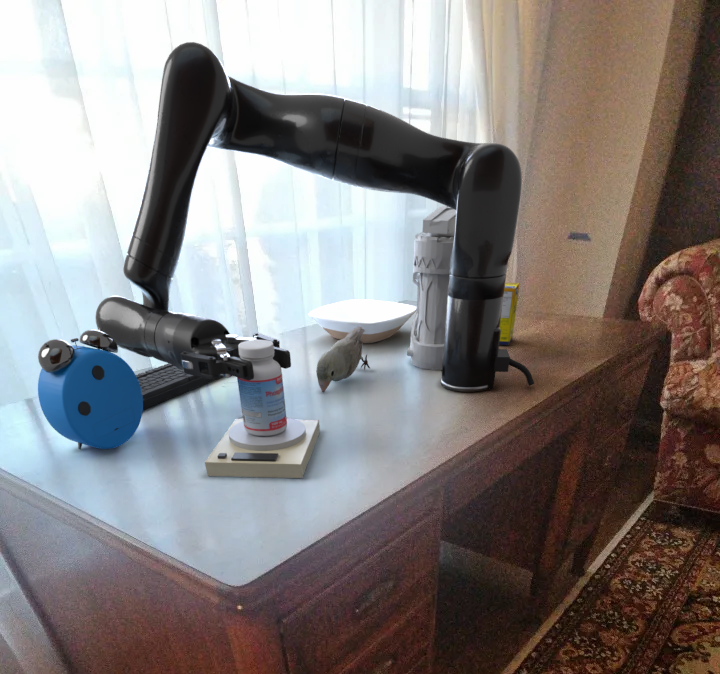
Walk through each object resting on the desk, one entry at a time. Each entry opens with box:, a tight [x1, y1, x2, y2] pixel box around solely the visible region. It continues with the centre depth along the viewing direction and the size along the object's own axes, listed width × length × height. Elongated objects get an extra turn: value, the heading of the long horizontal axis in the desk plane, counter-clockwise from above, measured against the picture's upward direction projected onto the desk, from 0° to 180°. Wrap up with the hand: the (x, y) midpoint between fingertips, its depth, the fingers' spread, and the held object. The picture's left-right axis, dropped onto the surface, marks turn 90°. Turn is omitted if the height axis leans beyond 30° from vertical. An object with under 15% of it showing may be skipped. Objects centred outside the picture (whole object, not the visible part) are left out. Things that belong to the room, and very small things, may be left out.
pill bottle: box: [236, 340, 287, 436], centre depth 78 cm, size 6×6×11 cm
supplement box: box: [499, 282, 521, 346], centre depth 122 cm, size 6×6×11 cm
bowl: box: [307, 298, 417, 344], centre depth 130 cm, size 22×22×5 cm
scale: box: [204, 416, 321, 479], centre depth 82 cm, size 13×16×3 cm
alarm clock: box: [37, 328, 144, 450], centre depth 81 cm, size 13×6×15 cm, turn 148°
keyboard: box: [135, 363, 225, 411], centre depth 106 cm, size 35×11×2 cm, turn 149°
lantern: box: [406, 205, 457, 371], centre depth 108 cm, size 13×10×25 cm
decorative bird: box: [315, 326, 371, 393], centre depth 105 cm, size 5×16×8 cm, turn 154°
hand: (270, 365), depth 75 cm, fingers closed on pill bottle, 6 cm apart
